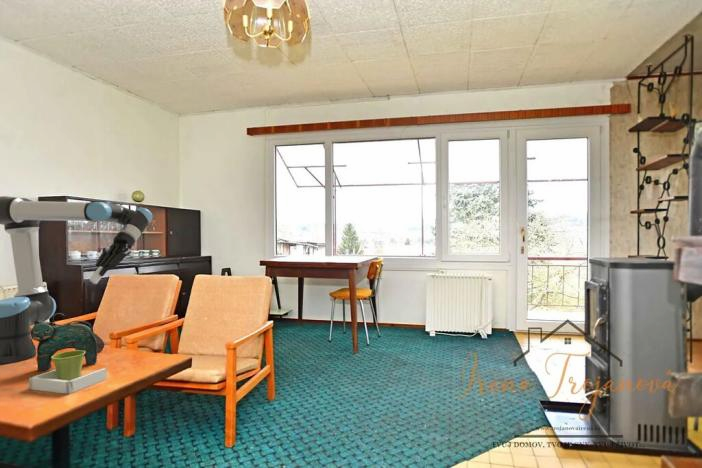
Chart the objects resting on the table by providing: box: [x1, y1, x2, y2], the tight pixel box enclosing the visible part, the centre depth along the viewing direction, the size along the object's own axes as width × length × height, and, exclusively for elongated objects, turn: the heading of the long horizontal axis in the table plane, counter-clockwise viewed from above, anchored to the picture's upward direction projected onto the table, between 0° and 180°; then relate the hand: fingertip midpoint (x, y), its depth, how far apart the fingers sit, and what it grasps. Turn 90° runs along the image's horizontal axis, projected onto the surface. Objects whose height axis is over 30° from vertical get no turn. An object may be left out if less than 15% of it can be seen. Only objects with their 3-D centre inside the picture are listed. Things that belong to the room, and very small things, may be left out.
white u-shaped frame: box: [28, 367, 108, 395], centre depth 134 cm, size 16×13×4 cm
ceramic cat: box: [30, 312, 99, 373], centre depth 153 cm, size 20×6×20 cm, turn 112°
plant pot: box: [51, 350, 85, 381], centre depth 138 cm, size 9×9×9 cm
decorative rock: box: [74, 332, 106, 353], centre depth 172 cm, size 12×6×11 cm, turn 106°
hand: (92, 281), depth 160 cm, fingers closed
